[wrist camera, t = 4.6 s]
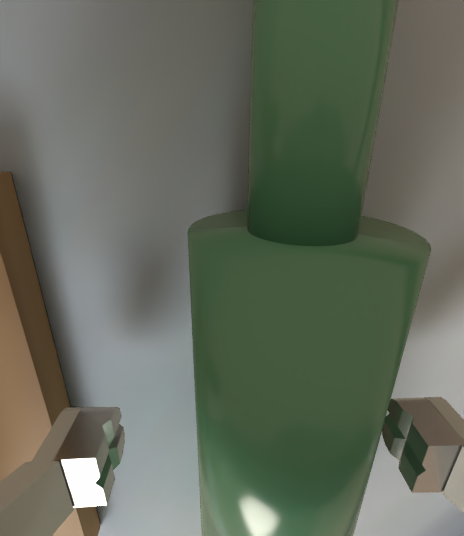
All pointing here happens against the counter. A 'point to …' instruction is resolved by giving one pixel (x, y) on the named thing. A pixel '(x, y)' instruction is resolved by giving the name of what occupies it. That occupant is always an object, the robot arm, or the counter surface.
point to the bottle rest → (28, 358)
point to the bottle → (301, 284)
